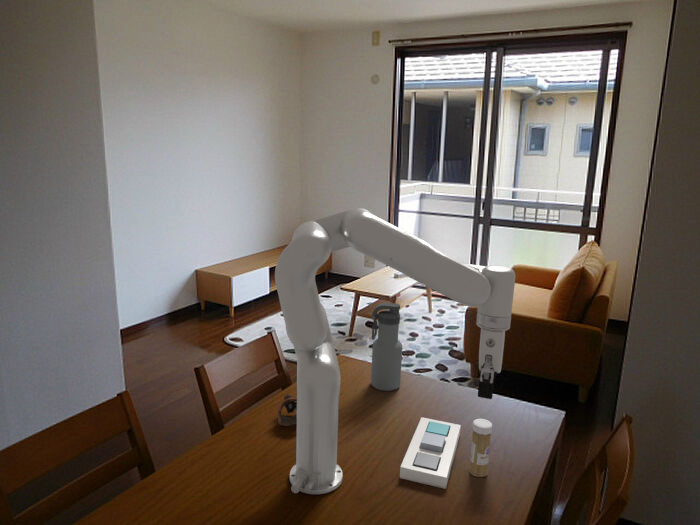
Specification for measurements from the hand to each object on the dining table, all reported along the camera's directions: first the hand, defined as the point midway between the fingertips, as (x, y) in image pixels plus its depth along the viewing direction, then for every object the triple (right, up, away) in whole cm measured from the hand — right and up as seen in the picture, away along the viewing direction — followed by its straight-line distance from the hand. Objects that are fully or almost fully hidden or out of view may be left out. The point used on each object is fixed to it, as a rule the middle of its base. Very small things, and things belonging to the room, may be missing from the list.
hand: (486, 388), depth 122 cm
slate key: (-11, -18, +11) cm, 24 cm away
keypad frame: (-11, -20, +11) cm, 26 cm away
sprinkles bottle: (-1, -22, +5) cm, 23 cm away
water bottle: (-21, -11, +50) cm, 55 cm away
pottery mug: (-48, -16, +26) cm, 57 cm away
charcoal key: (-14, -21, +4) cm, 25 cm away
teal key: (-8, -17, +19) cm, 27 cm away
